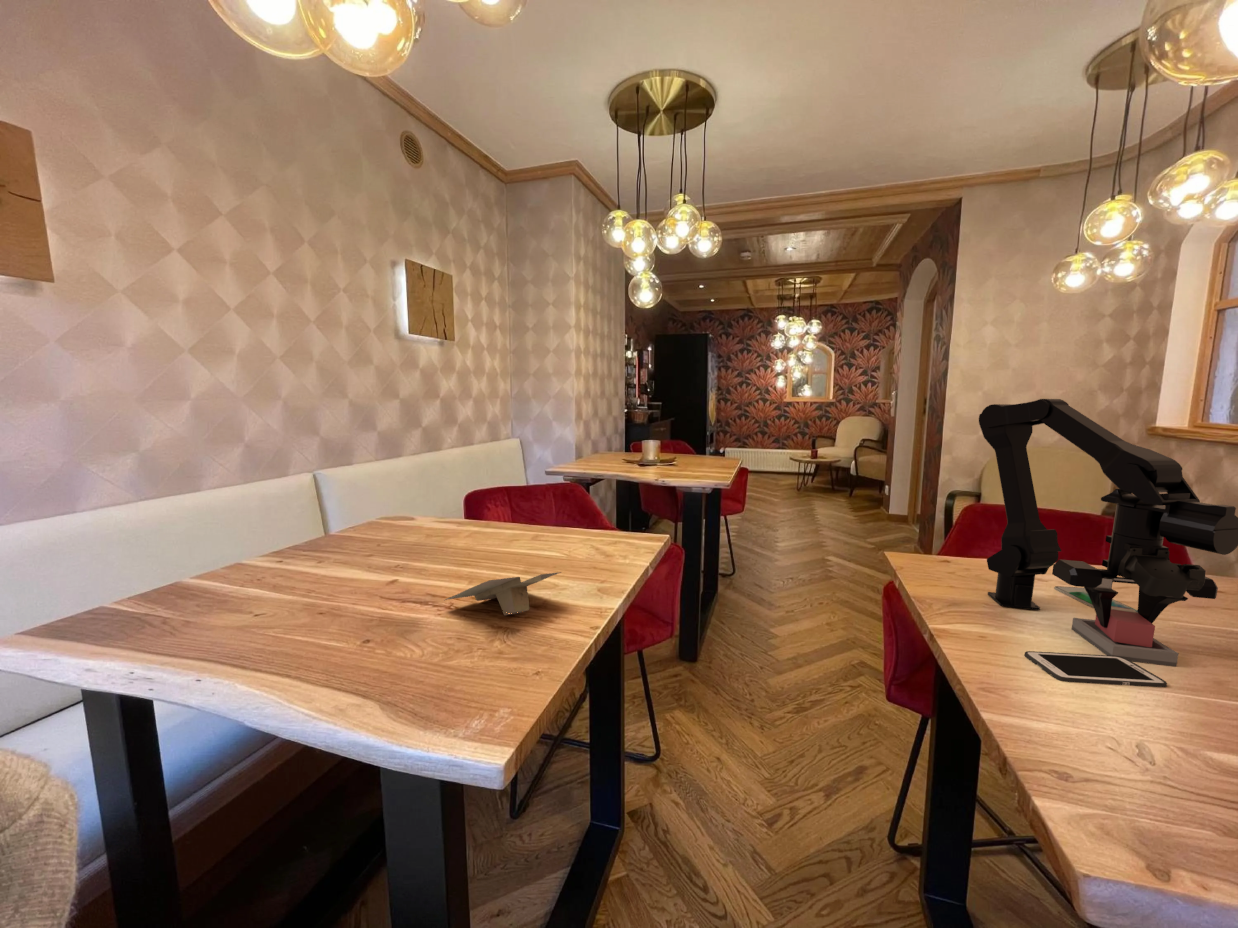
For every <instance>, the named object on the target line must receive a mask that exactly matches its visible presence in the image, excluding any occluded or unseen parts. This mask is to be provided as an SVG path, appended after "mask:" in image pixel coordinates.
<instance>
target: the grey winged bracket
mask: <svg viewBox="0 0 1238 928" xmlns="http://www.w3.org/2000/svg"><path fill="white" fill-rule="evenodd" d="M561 573H562V571H560V572H551V573H550V572H549V573H542V574H538V575H536V576H533V577H530V578H529V579H526V580H524V581H522V580H521V577H520V576H513V577H505V578H500V579H499V578H498V579H489V580H487V581H484V582H481V583H480V584H477V585H475V586H473V587H470V588H468V589H465V590H463V591H461V592H460V593H459V592H458V593H457V594H455V595H452V596H450V597H448V598H445V599H443V601H447V600H453V599H454V600H455V599H462V598H468V597H469V598H470V597H474V599H475V601H478V602H479V601H480V602H481V601H487V600H493V599H497V601H498V603H499V606H500V608H501V611H502V610H503V611H502V613H503V616H509V615H511V616H512V615H518V614H522V613H524V612H527V611H530V602H529V594H528V592H529V591H528V586H530V585H534V584H537V583H539V582H541V581H543V580H545V579H548V578H551V577H553V576H555V575H558V574H561ZM522 611H523V612H522ZM506 612H507V613H506ZM517 612H518V613H517ZM508 613H510V614H508ZM511 613H512V614H511Z"/></svg>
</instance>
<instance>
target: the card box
mask: <svg viewBox="0 0 1238 928" xmlns="http://www.w3.org/2000/svg"><path fill="white" fill-rule="evenodd" d="M1094 620H1095V625H1097V626H1098V627H1099V628H1100V629H1101V630H1102V631H1103V632H1104V633H1105V634H1106V635H1107V636H1108V637H1109V638H1111V639H1112V640H1113V641H1114V642H1119V643H1126V644H1132V645H1138V646H1144V647H1151V648H1152V643H1153V638H1154V637H1155V630H1156V625H1155V624H1153V623H1150V622H1149V621H1148V620H1146V619H1145V618H1144V617H1142V616H1141V615H1140V614H1138V612H1137V611H1135V610H1133V609H1128V608H1121V607H1114V606H1111V614H1110V619H1109V623H1108V627H1107V628H1104V627H1102V626H1101V625H1100V622H1099V620H1098V617H1097V615H1096V614H1095V619H1094Z"/></svg>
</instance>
